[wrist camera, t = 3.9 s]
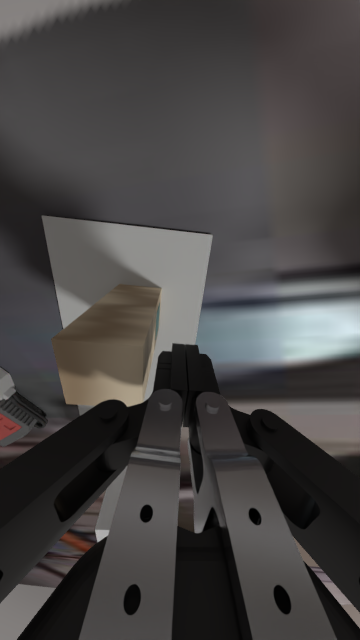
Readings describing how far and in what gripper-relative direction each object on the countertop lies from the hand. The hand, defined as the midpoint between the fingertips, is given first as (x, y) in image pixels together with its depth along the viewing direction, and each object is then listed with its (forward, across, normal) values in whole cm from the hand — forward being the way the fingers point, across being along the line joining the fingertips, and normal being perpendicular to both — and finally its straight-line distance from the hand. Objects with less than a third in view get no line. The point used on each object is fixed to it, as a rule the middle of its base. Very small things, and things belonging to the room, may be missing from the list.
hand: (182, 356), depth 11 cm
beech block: (+8, +4, 0) cm, 9 cm away
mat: (+8, +5, +10) cm, 14 cm away
